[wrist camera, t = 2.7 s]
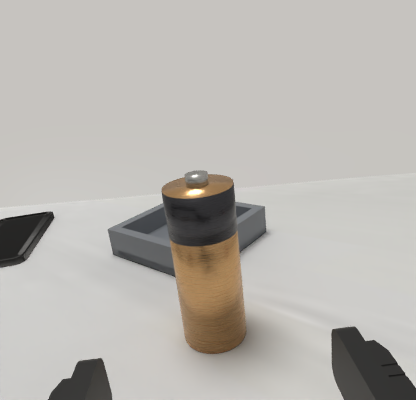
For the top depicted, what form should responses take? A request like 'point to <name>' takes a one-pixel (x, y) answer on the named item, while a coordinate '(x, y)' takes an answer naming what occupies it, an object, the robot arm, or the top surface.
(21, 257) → the phone
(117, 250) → the tray
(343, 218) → the top surface
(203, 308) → the battery cell
